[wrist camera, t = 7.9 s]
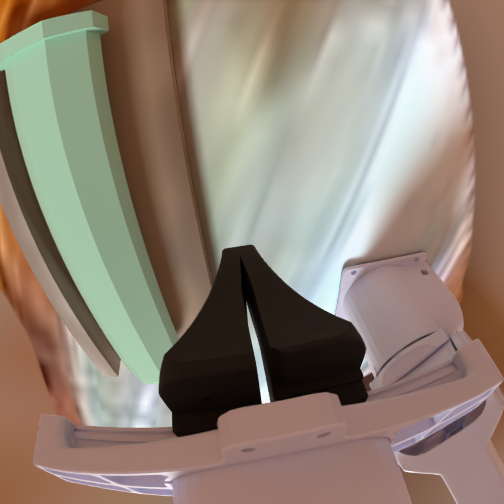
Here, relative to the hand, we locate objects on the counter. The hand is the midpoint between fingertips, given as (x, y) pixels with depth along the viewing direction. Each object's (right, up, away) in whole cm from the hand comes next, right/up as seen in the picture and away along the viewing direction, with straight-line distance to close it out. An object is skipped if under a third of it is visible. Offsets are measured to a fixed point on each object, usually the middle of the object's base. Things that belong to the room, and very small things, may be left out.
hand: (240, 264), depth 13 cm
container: (-8, +2, +4) cm, 10 cm away
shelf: (-9, +3, +6) cm, 11 cm away
